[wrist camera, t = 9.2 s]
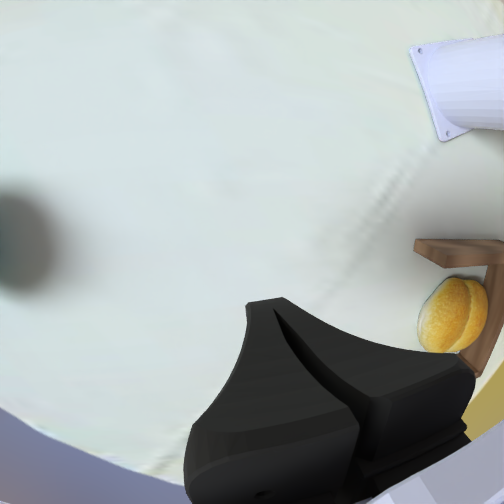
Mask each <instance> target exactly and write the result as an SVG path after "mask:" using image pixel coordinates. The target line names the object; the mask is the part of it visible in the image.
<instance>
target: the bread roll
mask: <svg viewBox="0 0 504 504" xmlns="http://www.w3.org/2000/svg"><path fill="white" fill-rule="evenodd" d="M487 314H488V298H487V294H486V291H485V289H484V287H483V286H482V285H481V284H480V283H478V282H477V281H474V280H462V279H460V278H448V279H446V280H445V281H444V282H443V283H442V284H440V285H439V286H438V288H437V289H436V290H435V291H434V292H433V294H432V295H431V296H430V297H429V299H428V300H427V301H426V302H425V303H424V305H423V307H422V309H421V311H420V314H419V318H418V323H417V334H418V339H419V342H420V344H421V345H422V346H423V347H424V349H425V350H426V351H428V352H432V353H444V352H457V351H459V350H462V349H465V348H466V347H468V346H469V345H470V344H471V343H472V342H474V341H475V340H476V339H477V338H478V336H479V335H480V333H481V331H482V330H483V327H484V325H485V322H486V319H487Z"/></svg>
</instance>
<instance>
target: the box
mask: <svg viewBox="0 0 504 504" xmlns="http://www.w3.org/2000/svg"><path fill="white" fill-rule="evenodd" d="M414 251H415V252H416V253H418V254H420V255H422V256H423V257H425V258H427V259H429V260H430V261H432V262H434V263H436V264H437V265H439V266H441V267H442V268H456V267H469V266H481V265H488V269H487V272H486V276H485V280H484V283H483V287H484V289H485V291H486V294H487V298H488V314H487V319H486V322H485V325H484V327H483V330H482V331H481V333H480V335H479V336H478V338H477V339H476V340H475V341H474V342H472V343H471V344H470V345H469V346H468V347H466V348H465V349H462V350H460V353H459V354H456V355H457V356H458V357H459V358H460V359H461V360H462V361H463V362H464V363H466V364H467V365H468V366H469V367H470V368H471V369H472V370H473V371H474V373H475V376H476V378H478V377H480V376H481V375H482V373H483V371H484V369H485V366H486V364H487V362H488V360H489V358H490V356H491V353H492V351H493V349H494V346H495V344H496V342H497V339H498V337H499V334H500V332H501V329H502V327H503V324H504V242H502V241H500V240H459V239H416V240H415V245H414Z"/></svg>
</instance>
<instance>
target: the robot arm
mask: <svg viewBox="0 0 504 504" xmlns="http://www.w3.org/2000/svg"><path fill="white" fill-rule="evenodd" d="M418 50H419V51H420V53H419V52H418ZM409 54H410V56H411V58H412V61H413V63H414V66H415V68H416V71H417V74H418V76H419V79H420V82H421V85H422V87H423V90H424V93H425V96H426V99H427V102H428V105H429V108H430V111H431V115H432V118H433V121H434V125H435V128H436V132H437V135H438V138H439V140H440V141H443V142H445V141H448V140H450V139H452V138H455V137H457V136H459V135H461V134H464V133H466V132H468V131H470V130H473V129H475V128H480V129H493V130H503V131H504V34H499V35H493V36H488V37H482V38H477V39H473V38H469V39H460V40H451V41H444V42H437V43H430V44H424V45H418V46H413V47H410V48H409ZM446 132H447V135H446ZM245 307H246V317H247V327H246V333H245V338H244V341H243V345H242V349H241V352H240V354H239V357H238V360H237V362H236V364H235V367H234V369H233V371H232V373H231V375H230V377H229V379H228V380H227V382H226V384H225V385H224V387H223V388H222V390H221V391H220V393H219V394H218V396H217V397H216V398H215V400H214V401H213V403H212V404H211V405H210V406H209V408H208V409H207V410H206V411H205V412H204V413H203V414H202V415H201V416H200V418H199V419H198V420H197V421H196V422H195V423H194V424H193V425H192V428H191V431H190V435H189V438H188V442H187V446H186V451H185V457H184V468H183V471H184V486H185V490H186V494H187V495H188V497H189V499H190V500H191V502H192V504H504V420H502V421H501V422H499V423H498V424H497V425H495V426H494V427H493V428H491V429H490V430H488V431H487V432H486V433H484V434H483V435H481V436H480V437H478V438H477V439H475V440H474V441H471V440H470V439H469V438H468V437H467V436H466V434H465V433H464V431H466V429H467V425H466V424H465V423H464V422H463V420H462V419H461V417H462V415H463V413H464V411H465V409H466V407H467V405H468V403H469V401H470V399H471V397H472V394H473V392H474V389H475V382H476V376H475V373H474V371H473V370H472V369H471V368H470V367H469V366H468V365H467V364H466V363H464V362H463V361H462V360H461V359H460V358H459V357H458V356H457V355H456V354H454V353H432V352H420V351H413V350H406V349H400V348H395V347H390V346H386V345H382V344H378V343H375V342H371V341H368V340H365V339H362V338H359V337H357V336H354V335H351V334H349V333H346V332H344V331H342V330H339V329H337V328H335V327H333V326H331V325H329V324H327V323H325V322H323V321H321V320H320V319H318V318H316V317H314V316H313V315H311V314H309V313H308V312H306V311H304V310H303V309H301V308H300V307H298V306H296V305H295V304H293V303H292V302H290V301H289V300H287V299H285V298H283V297H280V298H274V299H268V300H262V301H255V302H249V303H248V304H247V305H246V306H245ZM0 504H9V503H6V502H3V501H0Z"/></svg>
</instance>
